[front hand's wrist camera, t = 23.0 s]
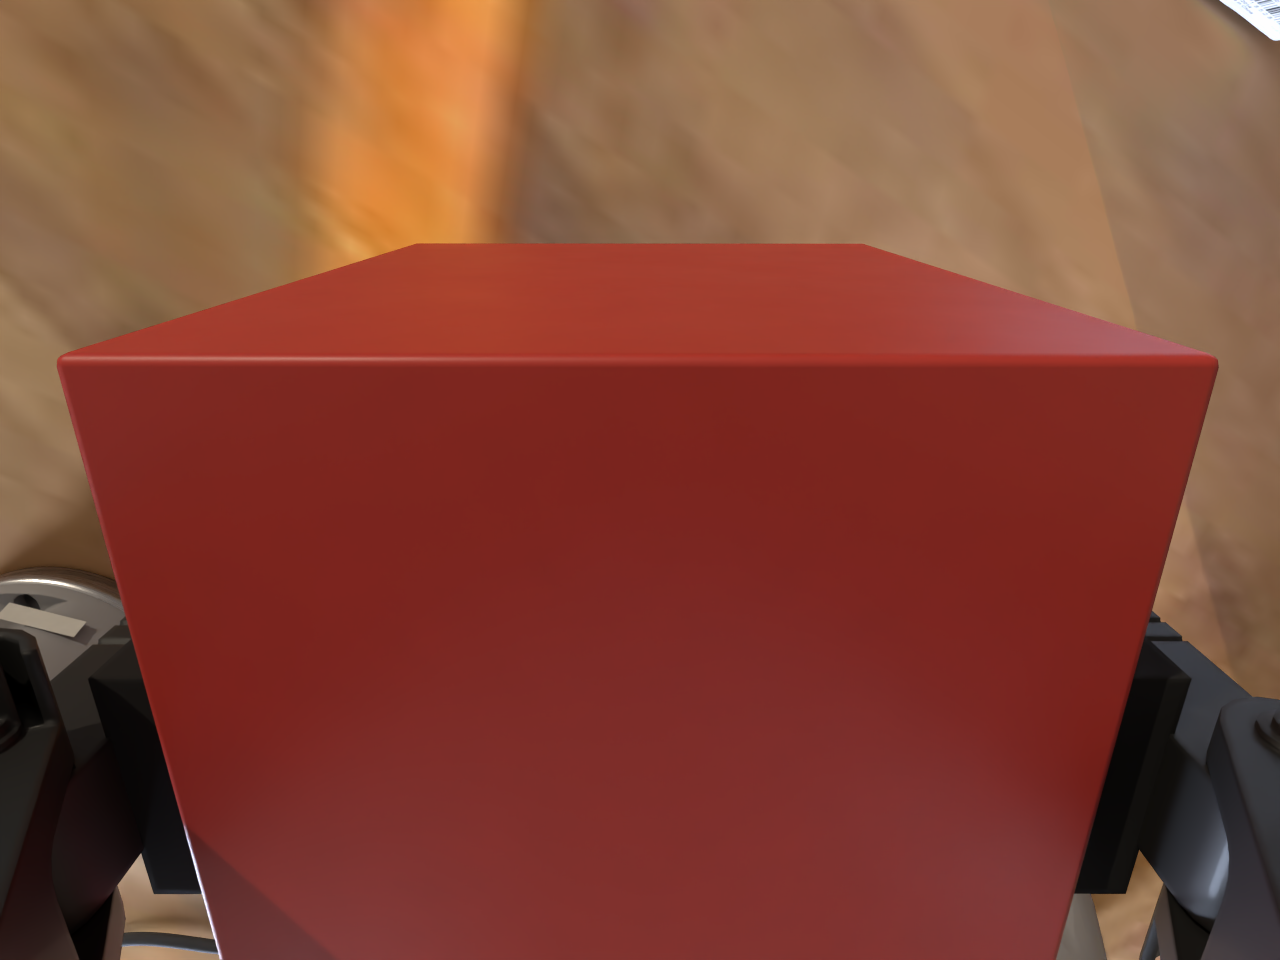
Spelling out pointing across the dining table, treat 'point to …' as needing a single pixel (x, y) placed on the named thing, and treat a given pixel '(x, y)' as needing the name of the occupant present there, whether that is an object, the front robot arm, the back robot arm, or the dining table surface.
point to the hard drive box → (1259, 14)
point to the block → (637, 598)
